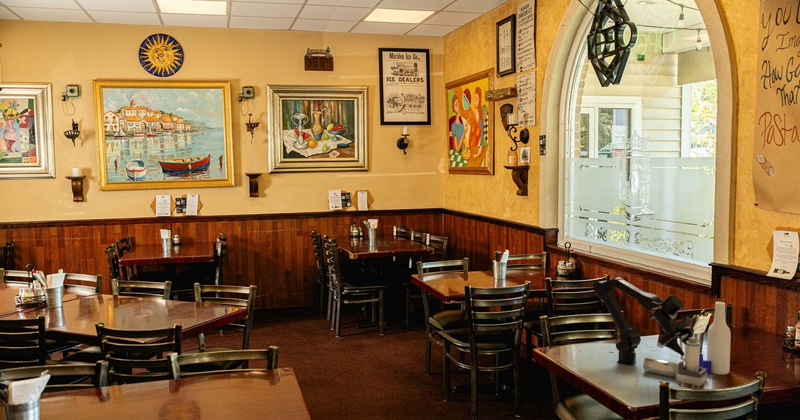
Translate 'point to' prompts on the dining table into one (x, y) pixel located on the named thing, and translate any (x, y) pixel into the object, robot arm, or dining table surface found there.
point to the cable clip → (705, 364)
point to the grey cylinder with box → (675, 371)
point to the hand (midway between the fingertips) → (689, 353)
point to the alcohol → (719, 342)
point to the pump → (692, 355)
